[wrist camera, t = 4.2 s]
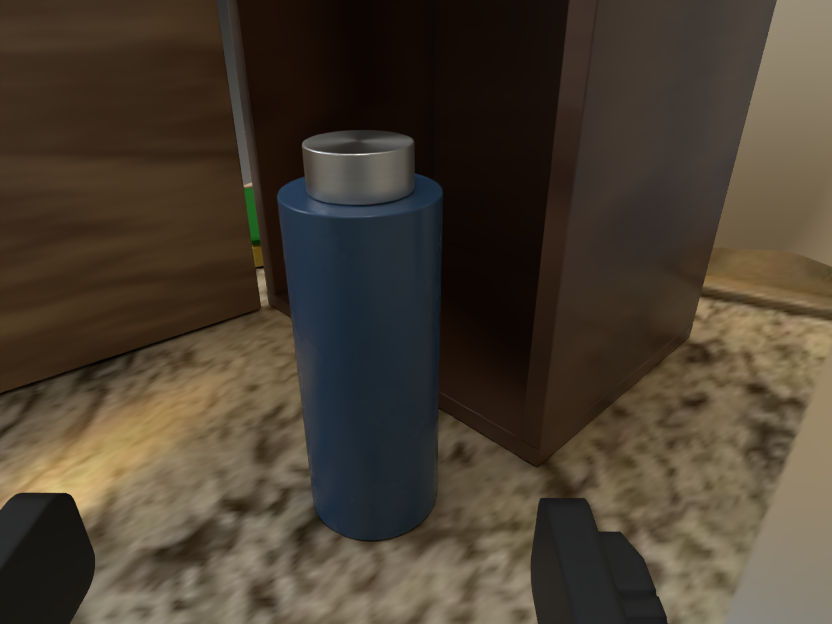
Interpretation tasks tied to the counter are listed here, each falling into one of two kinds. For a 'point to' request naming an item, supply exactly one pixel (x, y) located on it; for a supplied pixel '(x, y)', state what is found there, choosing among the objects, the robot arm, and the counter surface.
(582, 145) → the cupboard
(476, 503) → the counter surface
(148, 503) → the counter surface
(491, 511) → the counter surface
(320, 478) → the water bottle
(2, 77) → the cupboard door
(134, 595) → the counter surface
